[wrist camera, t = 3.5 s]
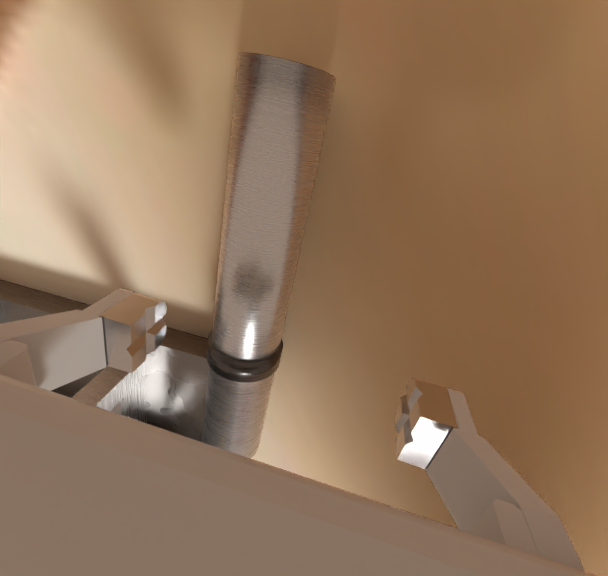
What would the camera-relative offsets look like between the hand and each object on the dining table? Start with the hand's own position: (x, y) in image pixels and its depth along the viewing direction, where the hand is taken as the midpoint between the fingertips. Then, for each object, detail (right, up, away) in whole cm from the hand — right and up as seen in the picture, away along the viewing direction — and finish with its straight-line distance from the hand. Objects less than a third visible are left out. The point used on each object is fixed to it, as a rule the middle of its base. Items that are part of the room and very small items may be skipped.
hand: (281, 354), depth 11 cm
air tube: (0, +2, +5) cm, 5 cm away
